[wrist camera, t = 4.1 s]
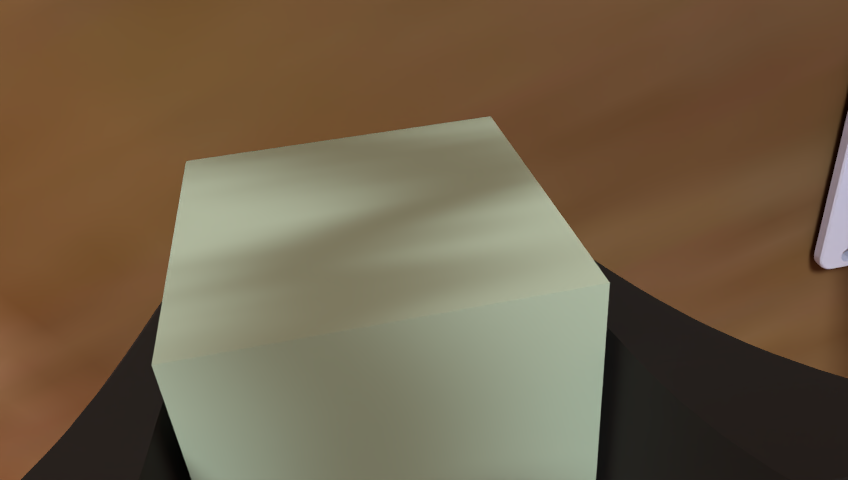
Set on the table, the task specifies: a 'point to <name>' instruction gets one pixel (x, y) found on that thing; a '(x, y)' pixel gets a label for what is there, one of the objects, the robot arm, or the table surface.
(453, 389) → the green cube
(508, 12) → the table surface
